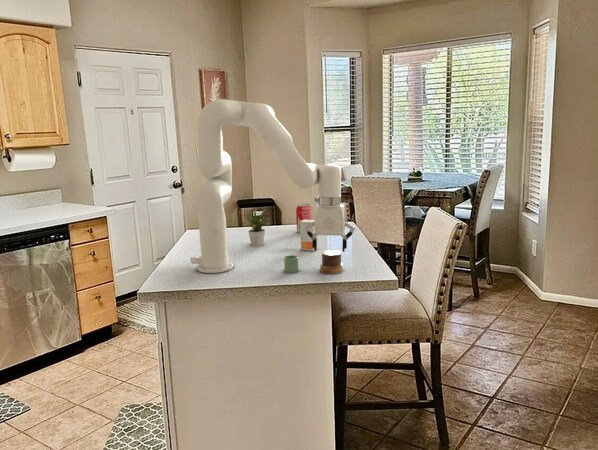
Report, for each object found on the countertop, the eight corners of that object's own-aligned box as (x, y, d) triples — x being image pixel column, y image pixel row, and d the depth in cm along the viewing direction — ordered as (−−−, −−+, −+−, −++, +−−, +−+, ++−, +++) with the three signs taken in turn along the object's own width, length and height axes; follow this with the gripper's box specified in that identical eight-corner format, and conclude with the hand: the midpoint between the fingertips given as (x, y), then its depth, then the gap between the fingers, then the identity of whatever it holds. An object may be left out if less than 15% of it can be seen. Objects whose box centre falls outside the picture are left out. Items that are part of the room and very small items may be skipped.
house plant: (241, 250, 209) (238, 211, 206) (235, 243, 222) (233, 206, 219) (274, 247, 213) (273, 208, 210) (267, 240, 226) (265, 203, 223)
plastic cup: (283, 272, 177) (283, 259, 176) (285, 268, 182) (285, 255, 181) (297, 272, 176) (297, 258, 175) (298, 268, 181) (298, 255, 180)
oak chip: (319, 274, 174) (319, 267, 174) (321, 267, 182) (321, 261, 181) (342, 274, 173) (342, 267, 173) (342, 267, 181) (342, 260, 180)
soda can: (314, 230, 242) (313, 203, 240) (306, 233, 237) (305, 206, 234) (301, 229, 246) (301, 203, 244) (293, 232, 240) (292, 205, 238)
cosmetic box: (300, 250, 207) (299, 221, 205) (305, 247, 211) (304, 219, 209) (313, 251, 204) (313, 222, 202) (318, 249, 208) (317, 220, 206)
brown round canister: (321, 266, 174) (321, 255, 173) (322, 261, 181) (322, 250, 180) (341, 266, 173) (340, 255, 173) (341, 261, 180) (341, 250, 179)
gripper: (303, 202, 170) (303, 252, 173) (355, 203, 168) (354, 253, 172) (305, 199, 177) (305, 247, 181) (355, 199, 175) (354, 248, 179)
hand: (329, 250), depth 176 cm, fingers open, 9 cm apart
